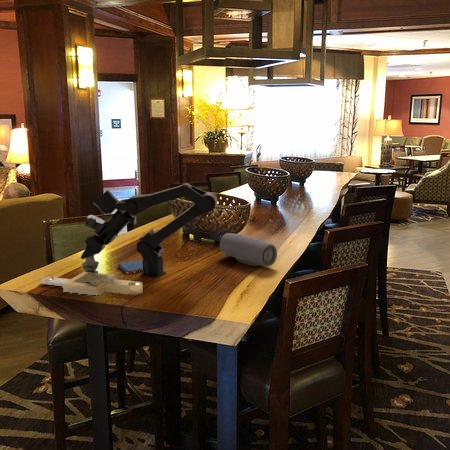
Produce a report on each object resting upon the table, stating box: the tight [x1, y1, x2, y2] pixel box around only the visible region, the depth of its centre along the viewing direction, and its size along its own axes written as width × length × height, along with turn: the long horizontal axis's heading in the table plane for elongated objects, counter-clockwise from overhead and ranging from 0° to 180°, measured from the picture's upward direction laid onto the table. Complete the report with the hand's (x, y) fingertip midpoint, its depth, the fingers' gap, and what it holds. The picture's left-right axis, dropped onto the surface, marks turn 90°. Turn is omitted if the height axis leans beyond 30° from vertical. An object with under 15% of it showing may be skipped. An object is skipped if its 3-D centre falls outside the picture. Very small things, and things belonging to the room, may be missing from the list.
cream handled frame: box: [40, 276, 105, 297], centre depth 159 cm, size 24×12×2 cm, turn 74°
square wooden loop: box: [62, 271, 144, 296], centre depth 156 cm, size 24×12×3 cm, turn 74°
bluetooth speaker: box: [219, 232, 278, 267], centre depth 183 cm, size 23×9×10 cm, turn 41°
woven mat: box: [116, 259, 143, 275], centre depth 178 cm, size 10×11×2 cm
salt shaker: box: [81, 243, 100, 273], centre depth 171 cm, size 6×6×12 cm
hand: (86, 254), depth 171 cm, fingers open, 9 cm apart
